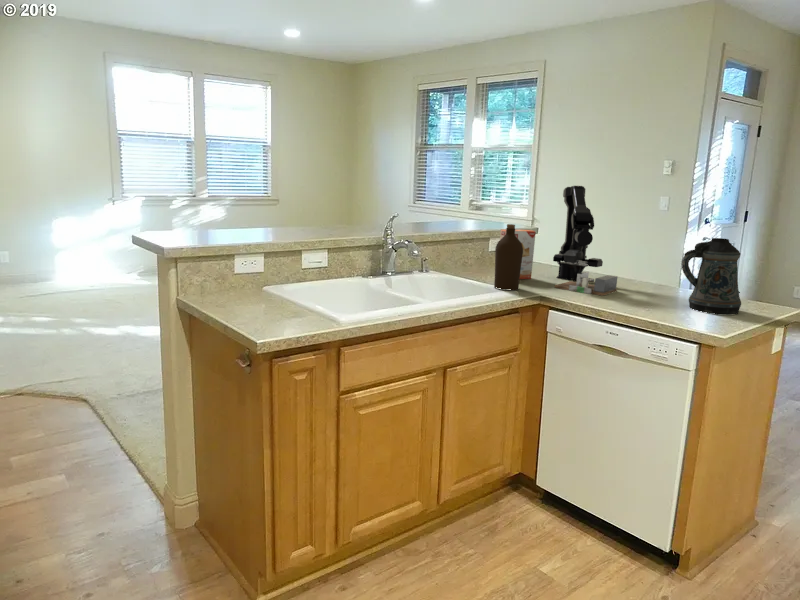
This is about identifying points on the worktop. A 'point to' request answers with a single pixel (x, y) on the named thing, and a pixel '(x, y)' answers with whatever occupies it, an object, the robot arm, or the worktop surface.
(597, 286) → the grey rectangular block
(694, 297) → the beer stein
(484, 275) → the worktop surface
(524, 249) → the cracker box
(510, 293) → the worktop surface
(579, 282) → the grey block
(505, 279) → the olive oil
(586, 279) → the telltale
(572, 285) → the gauge base
